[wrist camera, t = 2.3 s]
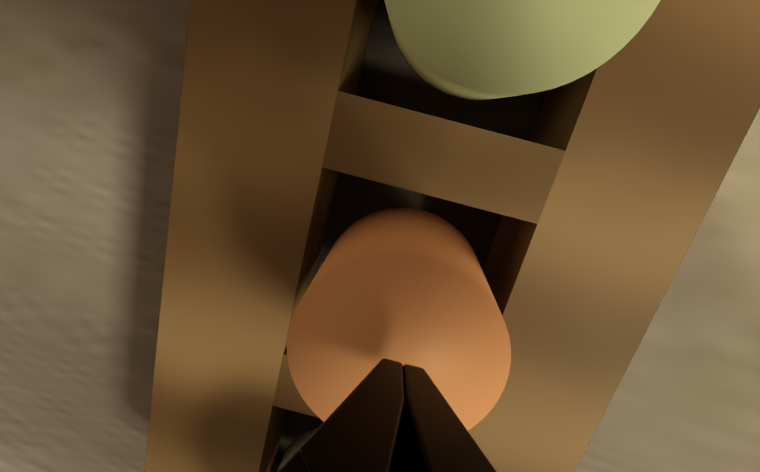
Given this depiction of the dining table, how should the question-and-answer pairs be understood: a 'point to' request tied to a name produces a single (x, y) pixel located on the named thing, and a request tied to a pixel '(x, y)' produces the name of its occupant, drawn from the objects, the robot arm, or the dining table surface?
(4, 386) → the dining table surface
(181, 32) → the dining table surface
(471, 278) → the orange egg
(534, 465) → the wooden compartment tray
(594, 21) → the button sage
